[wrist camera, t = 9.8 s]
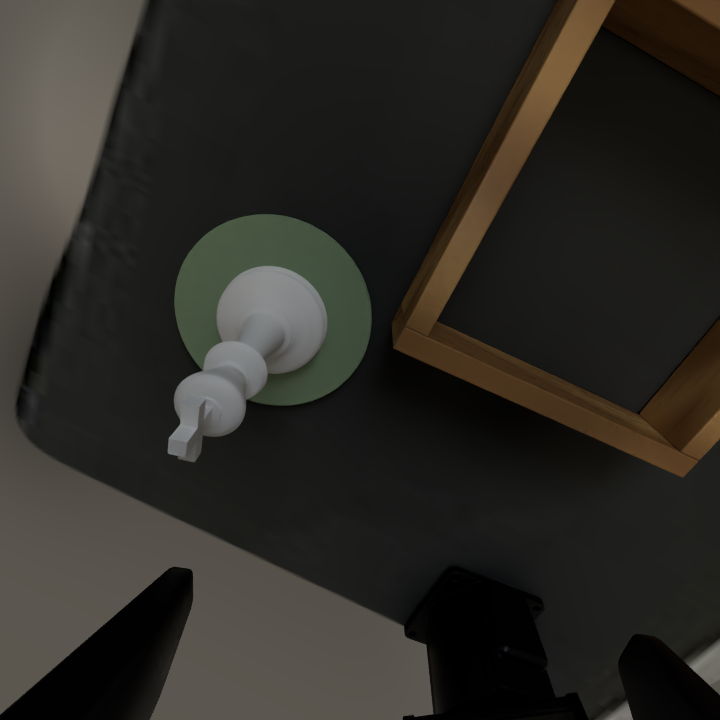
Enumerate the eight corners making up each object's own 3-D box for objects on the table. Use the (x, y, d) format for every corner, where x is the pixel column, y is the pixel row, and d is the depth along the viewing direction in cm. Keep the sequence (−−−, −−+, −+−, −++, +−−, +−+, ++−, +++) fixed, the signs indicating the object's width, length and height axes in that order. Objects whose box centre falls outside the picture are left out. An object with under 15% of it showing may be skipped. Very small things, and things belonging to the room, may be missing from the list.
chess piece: (337, 280, 18) (295, 380, 9) (316, 379, 20) (265, 544, 11) (225, 253, 18) (68, 329, 9) (214, 356, 20) (77, 505, 11)
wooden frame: (641, 437, 21) (683, 478, 18) (390, 323, 20) (392, 348, 17) (884, 156, 16) (997, 151, 13) (574, -34, 14) (624, -89, 11)
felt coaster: (326, 427, 22) (325, 432, 22) (157, 358, 21) (153, 361, 20) (405, 269, 19) (406, 271, 18) (209, 176, 17) (206, 176, 17)
